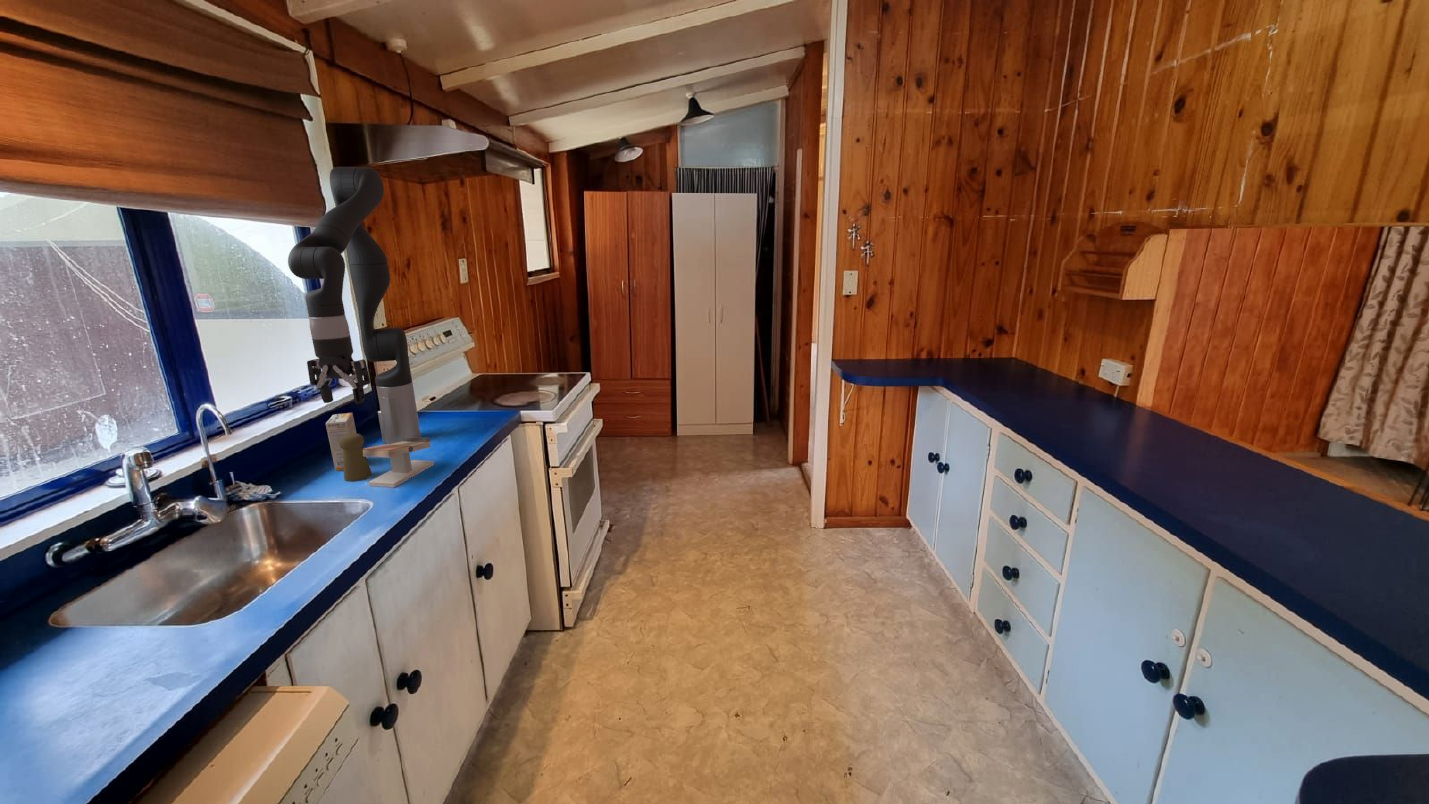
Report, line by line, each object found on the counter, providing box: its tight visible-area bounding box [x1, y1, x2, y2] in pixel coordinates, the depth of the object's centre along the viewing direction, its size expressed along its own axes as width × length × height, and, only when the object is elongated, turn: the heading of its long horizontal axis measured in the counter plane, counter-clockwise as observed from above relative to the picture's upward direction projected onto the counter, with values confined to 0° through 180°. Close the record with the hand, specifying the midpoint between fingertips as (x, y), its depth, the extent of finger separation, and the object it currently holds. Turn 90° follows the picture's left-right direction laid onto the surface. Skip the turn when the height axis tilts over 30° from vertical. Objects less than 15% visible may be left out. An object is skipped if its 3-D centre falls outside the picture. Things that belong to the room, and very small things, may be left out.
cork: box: [339, 433, 373, 483], centre depth 140 cm, size 6×6×11 cm
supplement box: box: [325, 412, 357, 472], centre depth 148 cm, size 8×5×13 cm, turn 22°
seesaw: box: [363, 436, 432, 459], centre depth 140 cm, size 7×15×3 cm, turn 170°
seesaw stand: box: [367, 452, 435, 488], centre depth 141 cm, size 7×15×6 cm, turn 170°
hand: (344, 402), depth 137 cm, fingers open, 8 cm apart
